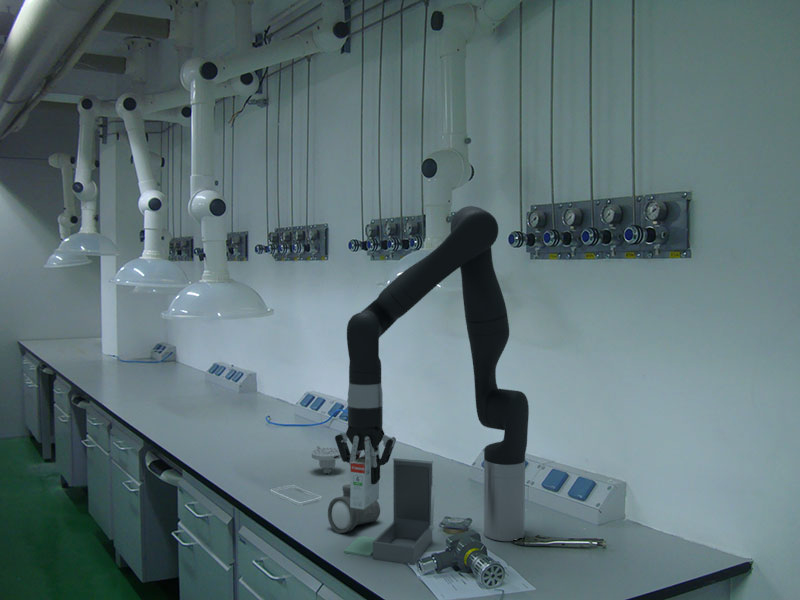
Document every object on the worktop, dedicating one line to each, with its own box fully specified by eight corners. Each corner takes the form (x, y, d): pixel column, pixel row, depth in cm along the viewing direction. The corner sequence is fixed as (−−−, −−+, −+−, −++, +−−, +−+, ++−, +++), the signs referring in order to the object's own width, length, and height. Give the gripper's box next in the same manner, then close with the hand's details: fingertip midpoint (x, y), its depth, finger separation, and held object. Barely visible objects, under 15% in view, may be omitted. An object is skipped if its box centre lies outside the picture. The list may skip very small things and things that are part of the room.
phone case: (269, 494, 186) (299, 508, 175) (269, 489, 186) (299, 502, 175) (292, 488, 191) (322, 501, 180) (292, 484, 191) (322, 496, 180)
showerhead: (329, 443, 213) (349, 449, 205) (330, 466, 213) (349, 472, 205) (304, 448, 206) (323, 454, 199) (304, 471, 207) (323, 478, 199)
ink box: (349, 508, 144) (349, 440, 144) (364, 497, 152) (364, 432, 152) (365, 510, 143) (365, 441, 143) (379, 499, 150) (379, 433, 150)
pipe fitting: (349, 536, 153) (350, 489, 154) (325, 530, 158) (326, 485, 159) (386, 528, 162) (386, 484, 163) (362, 523, 167) (363, 480, 168)
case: (393, 535, 154) (393, 457, 154) (435, 541, 151) (435, 460, 151) (372, 558, 142) (372, 473, 141) (417, 565, 138) (417, 477, 138)
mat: (359, 537, 153) (359, 535, 153) (384, 540, 151) (384, 539, 151) (343, 552, 145) (343, 550, 145) (370, 556, 143) (370, 554, 143)
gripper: (401, 402, 148) (401, 480, 149) (342, 399, 153) (342, 475, 153) (390, 408, 141) (390, 490, 142) (328, 404, 146) (328, 484, 146)
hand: (365, 482), depth 147 cm, fingers closed on ink box, 3 cm apart
